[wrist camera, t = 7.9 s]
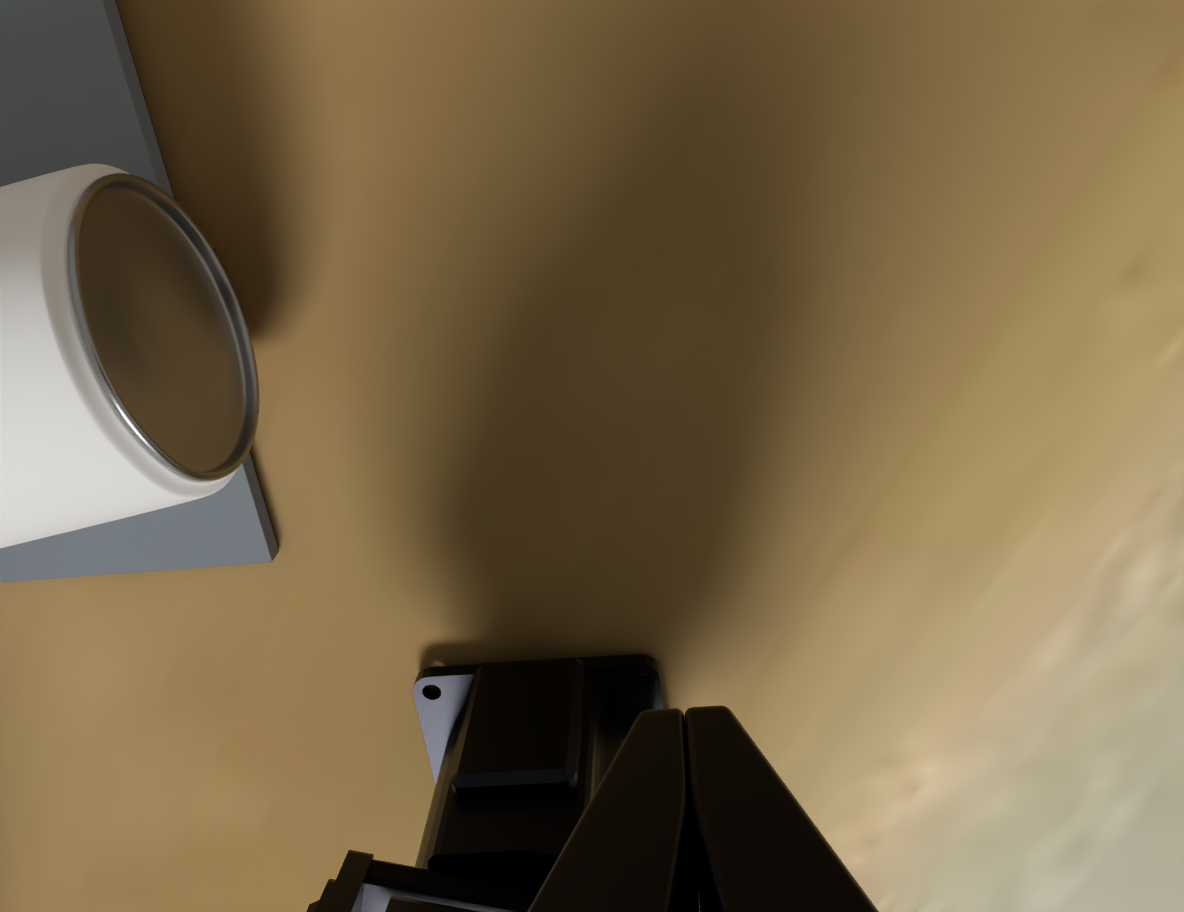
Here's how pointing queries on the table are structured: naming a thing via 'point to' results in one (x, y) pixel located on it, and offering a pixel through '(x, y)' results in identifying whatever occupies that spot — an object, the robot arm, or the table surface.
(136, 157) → the mat
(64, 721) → the table surface
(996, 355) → the table surface
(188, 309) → the can
